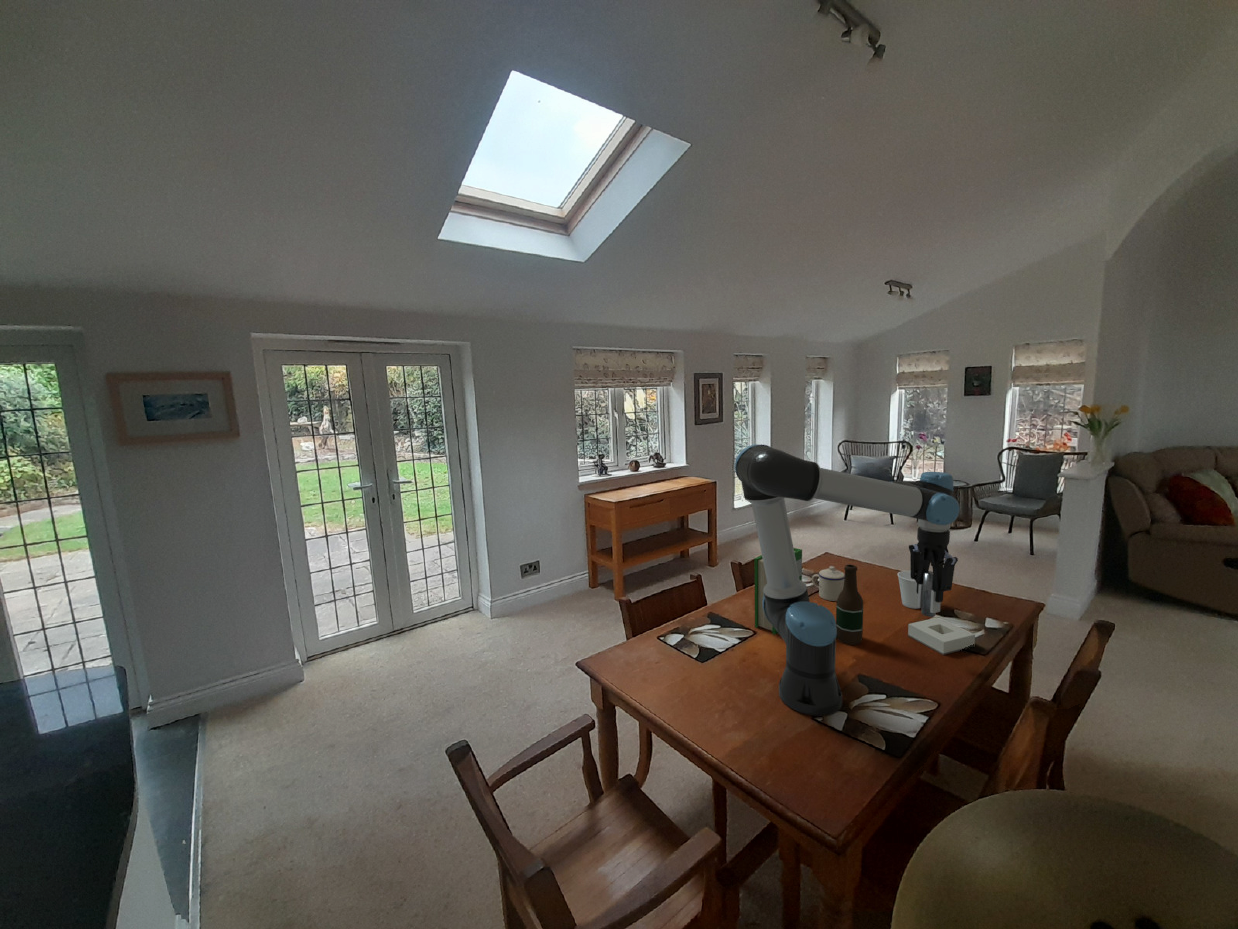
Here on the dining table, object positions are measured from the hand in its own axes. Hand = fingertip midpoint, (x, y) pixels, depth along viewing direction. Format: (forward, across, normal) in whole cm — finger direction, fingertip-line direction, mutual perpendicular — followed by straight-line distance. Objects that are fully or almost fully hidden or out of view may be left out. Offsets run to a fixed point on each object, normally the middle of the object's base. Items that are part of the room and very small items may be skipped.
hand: (928, 608), depth 138 cm
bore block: (+15, +6, -12) cm, 21 cm away
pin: (+2, 0, 0) cm, 2 cm away
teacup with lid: (+16, +46, -4) cm, 49 cm away
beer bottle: (+16, +17, +12) cm, 26 cm away
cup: (+15, +28, -26) cm, 41 cm away
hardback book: (+16, +35, +24) cm, 46 cm away
